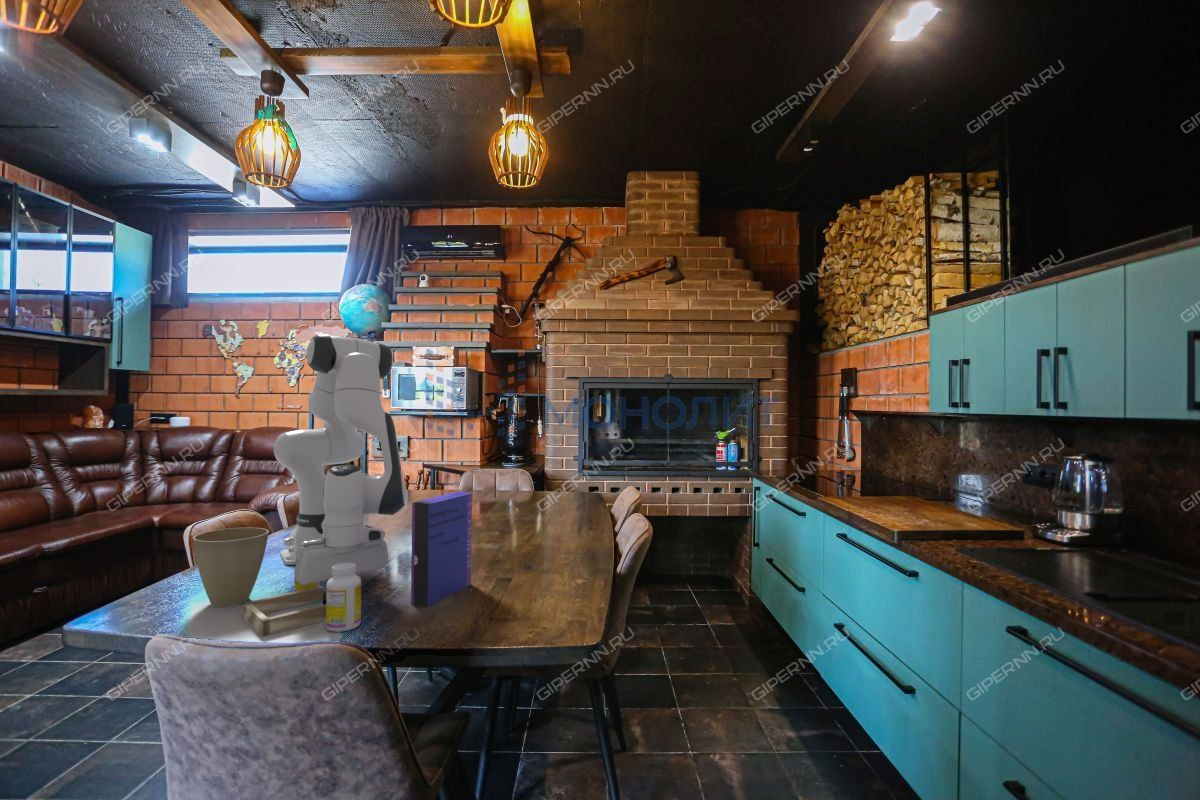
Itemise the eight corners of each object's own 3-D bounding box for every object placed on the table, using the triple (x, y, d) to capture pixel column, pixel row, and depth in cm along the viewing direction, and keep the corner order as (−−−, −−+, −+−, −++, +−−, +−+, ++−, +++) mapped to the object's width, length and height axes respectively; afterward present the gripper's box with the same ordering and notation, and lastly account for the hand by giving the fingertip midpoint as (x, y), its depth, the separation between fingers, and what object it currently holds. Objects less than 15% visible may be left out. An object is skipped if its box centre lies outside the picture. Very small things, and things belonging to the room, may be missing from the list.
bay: (242, 616, 122) (243, 603, 122) (320, 598, 134) (320, 586, 134) (263, 636, 112) (263, 621, 112) (345, 614, 124) (345, 601, 124)
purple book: (455, 582, 147) (456, 491, 147) (470, 584, 145) (472, 492, 146) (410, 604, 131) (412, 501, 131) (427, 606, 129) (428, 503, 129)
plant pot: (232, 615, 123) (233, 543, 123) (175, 610, 125) (176, 539, 126) (282, 593, 137) (283, 528, 138) (230, 588, 140) (231, 525, 140)
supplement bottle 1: (302, 591, 139) (302, 551, 139) (323, 591, 139) (324, 552, 139) (289, 598, 133) (290, 557, 133) (311, 599, 133) (312, 558, 133)
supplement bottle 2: (354, 618, 122) (355, 559, 122) (365, 627, 117) (366, 565, 117) (321, 626, 117) (322, 565, 118) (331, 635, 113) (332, 572, 113)
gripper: (300, 545, 121) (300, 609, 121) (391, 530, 136) (390, 587, 136) (290, 540, 125) (290, 602, 125) (379, 526, 140) (379, 581, 140)
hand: (343, 594), depth 130 cm, fingers closed
